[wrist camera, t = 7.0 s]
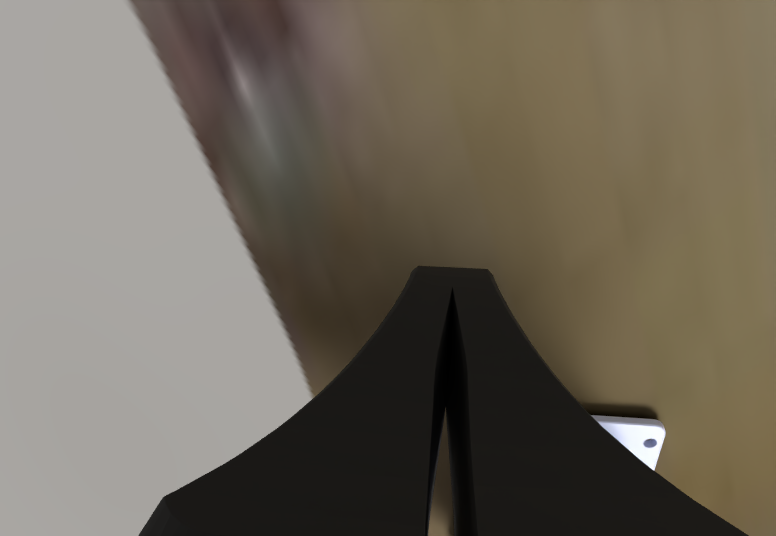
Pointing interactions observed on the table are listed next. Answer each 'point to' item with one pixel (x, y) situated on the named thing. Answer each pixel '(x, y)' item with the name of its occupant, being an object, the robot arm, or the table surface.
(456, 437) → the robot arm
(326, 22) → the table surface
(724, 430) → the table surface
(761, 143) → the table surface
